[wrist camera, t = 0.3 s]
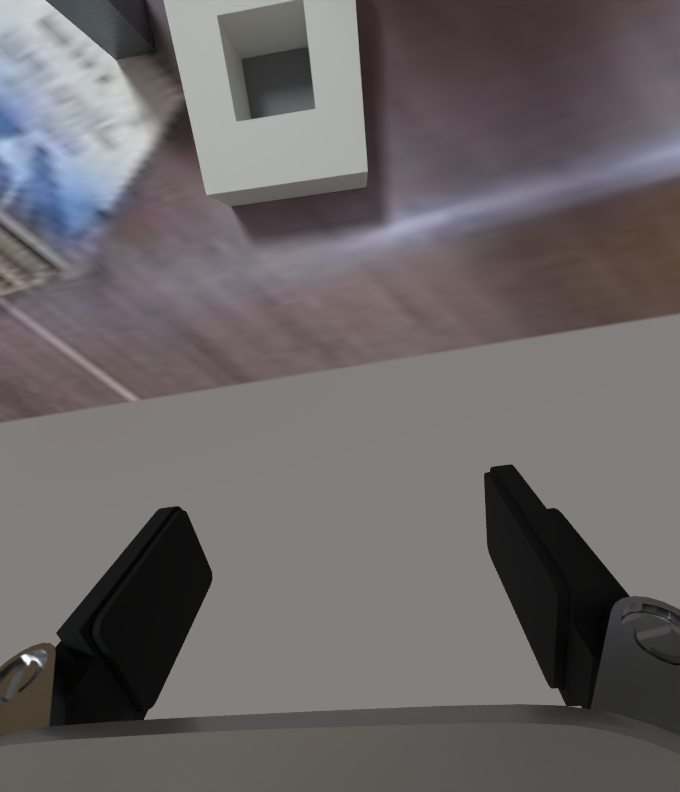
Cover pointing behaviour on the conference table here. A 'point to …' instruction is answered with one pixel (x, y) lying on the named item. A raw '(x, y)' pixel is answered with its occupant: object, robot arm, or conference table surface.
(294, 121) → the well block
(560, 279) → the conference table surface
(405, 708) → the robot arm
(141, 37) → the bracket bar
